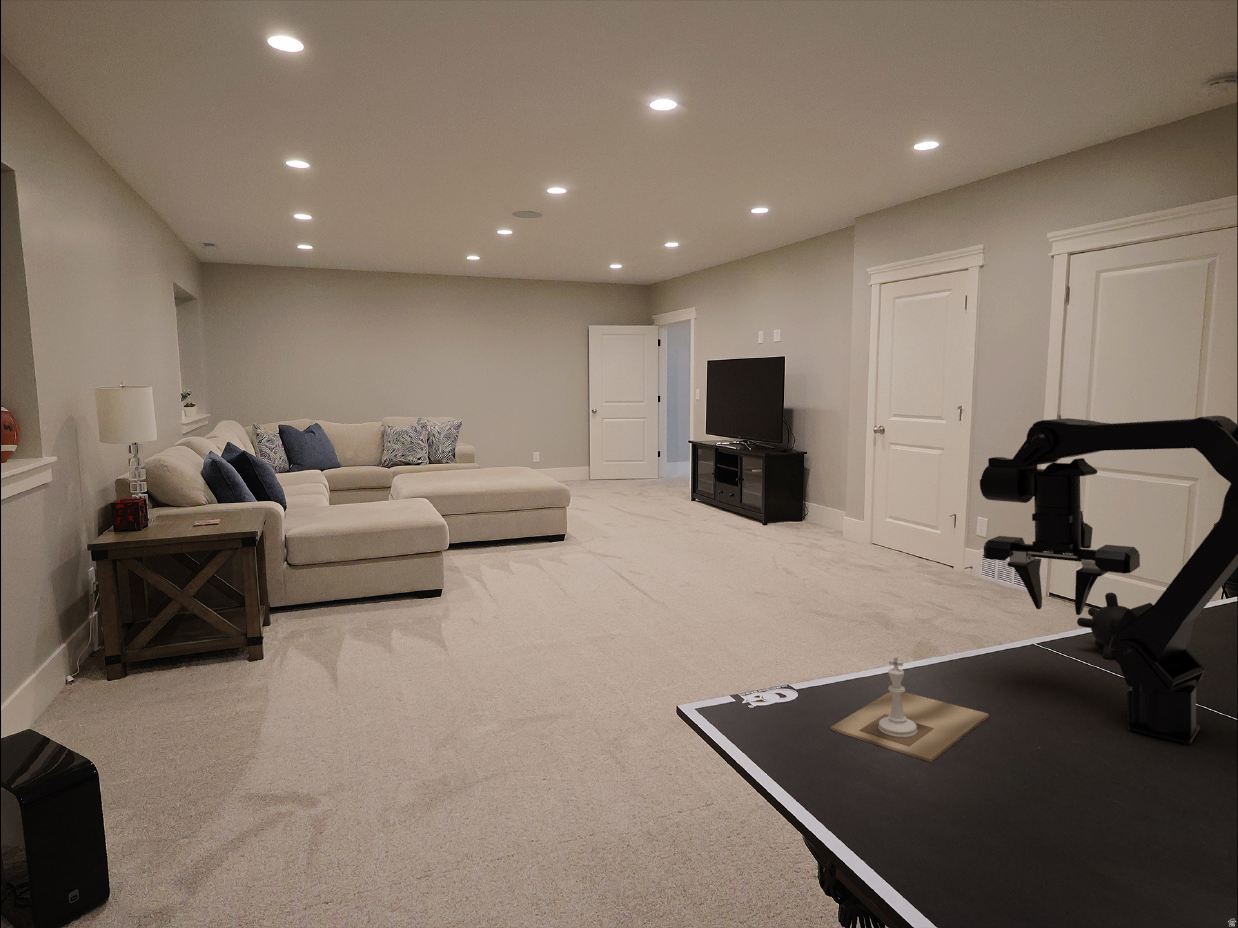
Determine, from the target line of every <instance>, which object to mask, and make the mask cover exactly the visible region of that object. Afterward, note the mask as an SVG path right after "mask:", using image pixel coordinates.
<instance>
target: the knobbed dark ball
mask: <svg viewBox="0 0 1238 928" xmlns="http://www.w3.org/2000/svg"><path fill="white" fill-rule="evenodd" d="M1104 597H1105V602H1106V603H1105V604H1106V606H1103V607H1101V608H1100V609H1098V608H1096V607H1092V606H1091V607H1089V608H1088V610H1087V613H1088V614H1087V615H1089V616H1090V617H1091V618H1087V617H1078V619H1077V621H1076V623H1077V626H1079V627H1082V628H1087V629H1090V631H1091V632H1092V635H1093V637H1094V645H1095V646H1096V647H1098V648H1101V649H1102V648H1103V650H1102V656H1103V657H1104V658H1105V659H1108V660H1112V659H1113V658H1114V656H1113V654H1112V651H1111V649H1110V642H1111V639H1112V637H1113V636H1114V635H1115V634H1111V633H1110V631H1111V630H1113V629H1115V628H1116V627H1117V626H1118V625H1119V624H1120V622H1121V619H1122V617H1123V615H1124V614H1125V612H1126V611H1127V610H1129V609H1130V608H1128V607H1126V606H1123V605H1119V602H1118V596H1117V594H1116V593H1114V592H1107V593H1106V594H1105V595H1104Z"/></svg>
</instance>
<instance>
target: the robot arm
mask: <svg viewBox="0 0 1238 928" xmlns="http://www.w3.org/2000/svg"><path fill="white" fill-rule="evenodd" d="M1171 449H1175V450H1177V449H1179V450H1180V449H1195V450H1196V451H1197V452H1199V453H1200V454H1201V455H1202V456H1203V457H1204V458H1205V459H1206V461H1207V462H1208V463H1209V464H1210V465H1211V466H1212V468H1213V469H1214V470H1215V471H1216V472H1217V474H1219V475H1220V477H1222V478H1224V479H1225V480H1227V481H1228V482H1229V483H1230V484H1229V487H1228V489H1227V491H1226V494H1225V495H1224V498H1223V503H1222V508H1221V514H1220V518H1219V519H1218V521H1217V522H1216V523H1215V525H1214V526H1213V528H1212V529H1211V530H1210V531H1209V533H1208V534H1207V536H1205V538H1204V539H1203V540H1202V542H1201V543H1200V544H1199V546H1198V547H1197V548H1196V549H1195V551H1194V552H1193V553H1192V555H1191V556H1190V558H1188V559H1187V561H1186V562H1185V564H1184V565H1183V567H1182V568H1181V569H1180V570H1179V572H1178V573H1177V574H1176V576H1175V577H1174V579H1173V580H1172V581H1171V582H1170V583H1169V584H1168V586H1167V587H1166V588H1165V590H1164V591H1163V592H1162V594H1161V595H1160V597H1158V599H1157V600H1156V602H1155V603H1154V604H1153V603H1152V602H1148V603H1145V604H1141V605H1137V606H1136V607H1133V608H1129V610H1127V611H1126V612H1125V614H1124V615H1123V617H1122V619H1121V622H1120V624H1119V625H1118V626H1117V627H1116V628H1115V629H1113V630H1111V631H1110V633H1111V634H1115V635H1114V636H1113V637H1112V639H1111V642H1110V649H1111V651H1112V654H1113V656H1114V657H1113V658H1114V660H1115V661H1116V663H1118V665H1119V667H1120V670H1121V673H1122V674H1123V678H1124V680H1125V683H1126V685H1127V687H1130V688H1129V689H1128V690H1127V691H1126V704H1127V705H1126V709H1127V710H1126V712H1127V714H1126V719H1127V721H1128V722H1130V723H1129V724H1128V729H1127V730H1129V731H1131V732H1135V733H1140V734H1144V735H1147V736H1152V737H1156V738H1159V739H1164V740H1167V741H1168V740H1169V741H1172V742H1177V743H1181V744H1186V745H1190V744H1192V742H1193V741H1194V739H1195V738H1196V736H1197V734H1198V732H1199V731H1200V726H1201V725H1200V724H1198V723H1197V686H1196V685H1193V684H1196V683H1199V682H1200V681H1201V680H1202V678H1203V676H1204V674H1205V671H1206V667H1205V666H1204V665H1202V663H1201V662H1200V661H1199V660H1198V659H1197V658H1196V657H1195V656H1194V655H1193V653H1191V652H1190V651H1189V650H1188V648H1187V645H1188V643H1189V641H1190V639H1191V637H1192V632H1193V626H1194V622H1195V620H1196V618H1197V617H1198V616H1199V614H1200V613H1202V610H1204V608H1205V607H1206V606H1207V605H1208V604H1209V602H1211V600H1212V599H1213V597H1214V596H1215V595H1216V594H1217V592H1218V591H1219V590H1220V589H1221V587H1223V585H1224V584H1225V583H1226V582H1227V580H1228V579H1229V578H1230V577H1231V575H1232V574H1233V573H1234V572H1235V570H1236V569H1237V568H1238V423H1236V422H1235V421H1233V420H1232V419H1231V418H1229V417H1228V416H1227V417H1226V416H1225V415H1209V416H1200V417H1196V418H1187V419H1185V418H1184V419H1170V420H1169V419H1167V420H1151V421H1134V422H1133V421H1132V422H1116V423H1111V422H1110V423H1108V422H1100V421H1095V420H1089V419H1086V420H1085V419H1081V418H1070V417H1068V418H1066V417H1065V418H1055V419H1042V420H1038V421H1036V422H1033V424H1032V425H1031V426H1030V428H1029V430H1028V431H1027V433H1026V440H1025V441H1024V442H1023V443H1022V445H1021V447H1020V448H1019V449H1018V451H1017V452H1016V453H1015V454H1014V456H1013V457H1012V458H1009V457H1008V458H1007V457H1004V456H995V457H989V458H988V461H987V462H988V463H987V464H988V465H987V466H986V467H985V468H984V469H983V471H982V474H981V478H980V479H979V489H980V492H981V496H982V497H984V498H985V499H986V500H988V501H997V502H998V501H999V502H1008V503H1009V502H1011V503H1021V504H1027V503H1029V502H1030V501H1031V500H1032V499H1033V498H1034V500H1033V501H1034V502H1033V503H1034V512H1033V513H1032V514H1031V520H1032V522H1034V541H1032V543H1025V540H1024V538H1023V537H1017V536H1006V535H998V536H995V537H993V538H990V539H988V540H987V541H986V542H984V546H983V558H984V559H988V560H993V561H1007V560H1008V559H1009V561H1008V562H1007V563H1006V565H1007V567H1009V568H1013V569H1014V571H1015V572H1016V574H1017V575H1018V577H1019V578H1020V580H1021V581H1022V584H1024V587H1025V588H1026V590H1027V592H1028V594H1029V596H1030V598H1031V600H1032V603H1033V605H1034V607H1035V609H1037V610H1041V609H1042V605H1043V593H1042V584H1041V583H1042V582H1041V572H1040V571H1041V565H1042V559H1050V560H1058V561H1059V560H1060V561H1061V560H1062V561H1070V562H1079V563H1081V566H1082V567H1080V568H1079V569H1077V570H1075V592H1074V593H1075V594H1074V608H1075V610H1074V611H1075V614H1076V616H1080V615H1082V613H1083V611H1084V608H1085V606H1086V603H1087V601H1088V598H1089V595H1090V593H1091V590H1092V588H1093V586H1094V584H1095V582H1096V581H1097V579H1098V578H1100V577H1103V576H1105V575H1106V574H1107V573H1117V574H1131V573H1133V572H1134V571H1135V570H1137V569H1138V568H1140V567H1141V566H1140V565H1141V564H1140V563H1141V562H1140V561H1141V557H1140V552H1139V550H1138V549H1137V548H1136V547H1135V546H1128V545H1112V544H1105V545H1102V546H1101V547H1099V548H1097V549H1091V548H1092V539H1093V538H1092V537H1093V529H1094V528H1093V527H1092V526H1091V525H1090V524H1088V523H1086V522H1085V521H1084V513H1083V511H1082V510H1081V509H1082V507H1081V477H1086V476H1093V475H1097V474H1098V470H1097V469H1096V468H1095V467H1094V466H1092V465H1091V464H1089V463H1088V462H1087V461H1086V459H1085V458H1084V457H1081V458H1074V457H1079V456H1084V455H1089V454H1094V453H1098V452H1104V451H1105V452H1106V451H1132V450H1133V451H1135V450H1136V451H1137V450H1141V451H1142V450H1143V451H1144V450H1171ZM1065 458H1074V459H1072V461H1071V462H1069V463H1068V462H1067V463H1065V462H1058V461H1060V460H1061V459H1065ZM1047 464H1048V465H1047ZM1040 465H1047V466H1045V468H1038V466H1040Z"/></svg>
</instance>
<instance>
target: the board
mask: <svg viewBox="0 0 1238 928" xmlns="http://www.w3.org/2000/svg"><path fill="white" fill-rule="evenodd" d="M892 700H893V692H891V691H889V692H887V693H885V694H883V695H881V696H880V697H879V698H877V699H875V700H874V701H872V702H870V703H868V704H866V705H865V706H864V707H862V708H860V709H859V710H857V711H854V713H852V714H850V715H849V716H847V717H845V718H843V719H841V720H840V721H838V722H836V723H835V724H833V725H831V726H830V731H833V732H837V733H839V734H842V735H845V736H849V737H852V738H855V739H858V740H861V741H863V742H867V743H870V744H874V745H877V746H880V747H882V748H885V749H889V750H892V751H894V752H897V753H900V754H904V755H907V756H911V757H913V758H915V759H919V760H921V761H925V762H929V763H932V762H933V761H935V760H936V759H937V758H938V757H940V756H941V755H942V754H943V753H945V752H946V751H947V750H948V749H950V748H951V747H952V746H953V745H955V744H957V742H958V741H960V740H962V738H964V737H965V736H966V735H968V734H969V733H971V732H972V731H973V730H974V729H976V727H978V726H980V724H981V723H983V722H984V721H985V720H986V719H988V718H990V714H989V713H987V712H983V711H980V710H975V709H971V708H968V707H963V706H960V705H956V704H953V703H949V702H945V701H940V700H937V699H932V698H928V697H925V696H921V695H919V694H918V695H917V694H913V693H909V692H906V691H904V692H901V701H902V707H903V713H904V716H905V717H906V718H907V719H909V720H911V721H913V722H914V723H915V724H916V726H917V733H916V734H915V735H913V736H910V737H895V736H890V735H887V734H885V733H883V732H882V731H880V730H879V721H880V720H881V719H883V718H885V717H888V716H889V715H890V714H891V709H892Z"/></svg>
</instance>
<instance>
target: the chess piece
mask: <svg viewBox="0 0 1238 928" xmlns="http://www.w3.org/2000/svg"><path fill="white" fill-rule="evenodd" d="M888 665H892V666H893V668H890V669H888V675H889V677H890V682H891V683H892V684H891V685H889V686H888V688H887V689H888V691H889V692H890V691H891V692H893V700H892V709H891V714H890V715H889V716H888V717H885V718H883V719H881V720H880V721H879V730H880V731H882V732H883V733H885V734H887V735H890V736H895V737H910V736H913V735H915V734H916V733H917V726H916V724H915V723H914V722H913V721H911V720H909V719H907V718H906V717H905V716H904V713H903V707H902V701H901V692H906V689H905V686H903V685H902V682H903V678H904V676H905V671H904V670H902V669H901V668H899V667H903V666H904V662H903V661H899V656H893V660H892V659H890V660H888Z"/></svg>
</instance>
